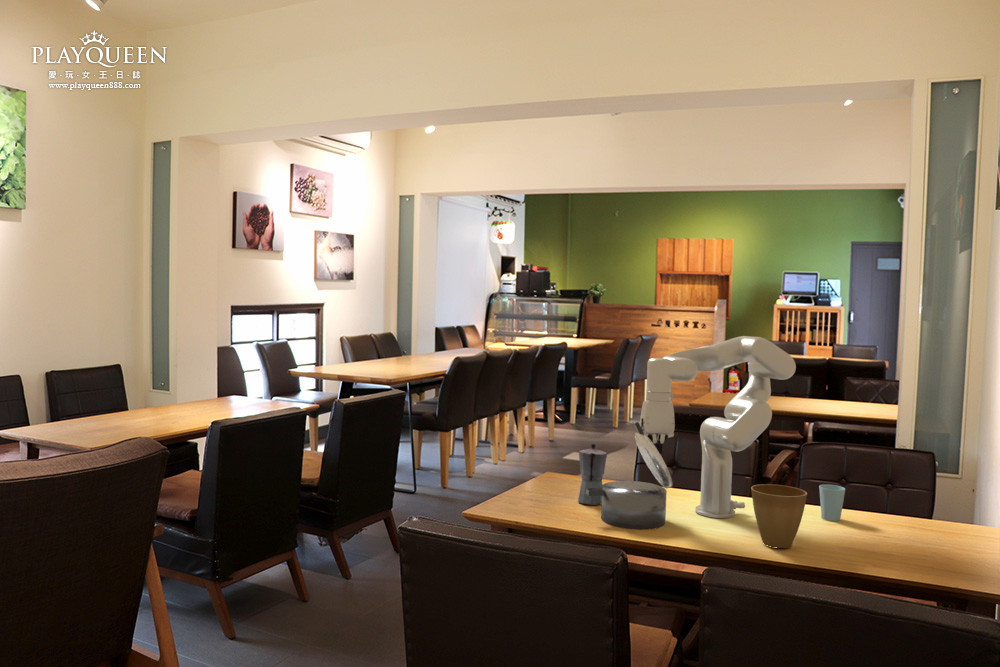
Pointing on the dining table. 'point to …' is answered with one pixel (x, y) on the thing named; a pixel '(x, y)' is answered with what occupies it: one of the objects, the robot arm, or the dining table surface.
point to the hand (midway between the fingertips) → (656, 455)
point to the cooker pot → (632, 504)
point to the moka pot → (591, 473)
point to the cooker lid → (652, 457)
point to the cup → (831, 501)
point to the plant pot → (778, 513)
